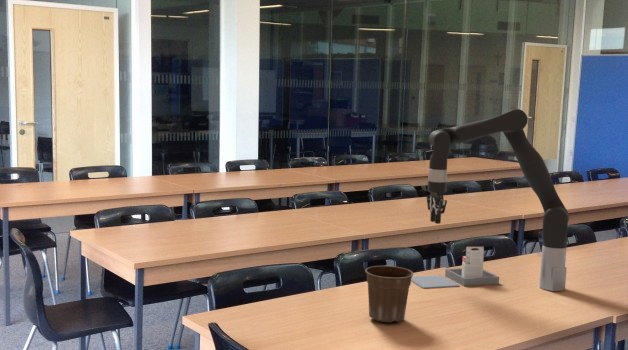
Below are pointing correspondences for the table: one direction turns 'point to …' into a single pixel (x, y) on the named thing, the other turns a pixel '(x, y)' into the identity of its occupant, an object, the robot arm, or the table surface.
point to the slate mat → (433, 281)
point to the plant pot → (388, 292)
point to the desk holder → (484, 280)
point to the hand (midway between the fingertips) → (435, 222)
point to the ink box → (473, 263)
